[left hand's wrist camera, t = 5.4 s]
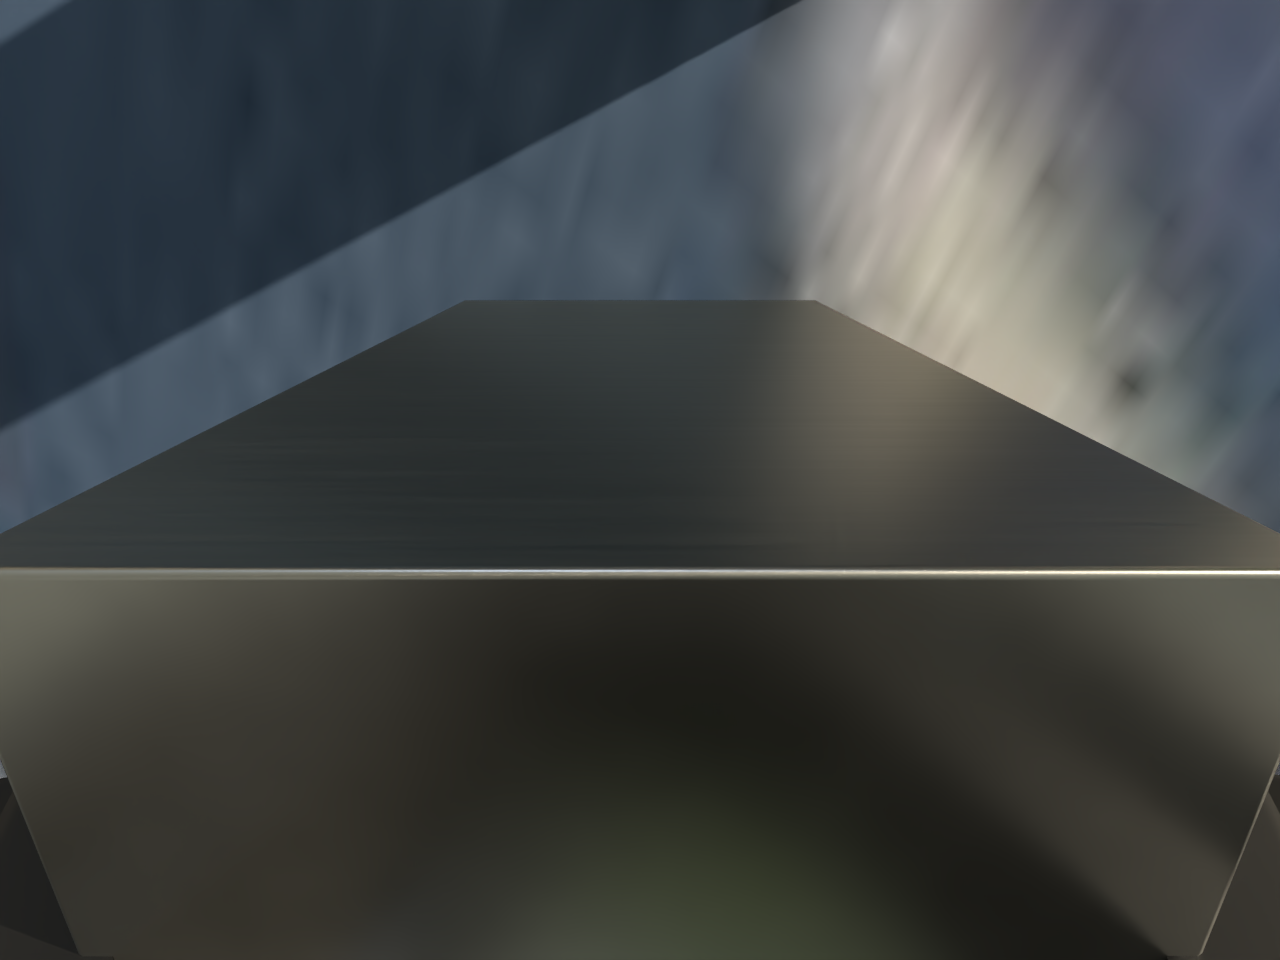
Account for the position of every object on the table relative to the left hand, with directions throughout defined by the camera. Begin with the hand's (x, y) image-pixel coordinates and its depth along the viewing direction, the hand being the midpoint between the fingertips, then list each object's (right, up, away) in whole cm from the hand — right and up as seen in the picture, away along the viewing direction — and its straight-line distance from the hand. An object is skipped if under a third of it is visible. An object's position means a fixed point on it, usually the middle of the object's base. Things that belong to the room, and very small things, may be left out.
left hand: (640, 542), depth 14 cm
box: (0, -5, +6) cm, 8 cm away
